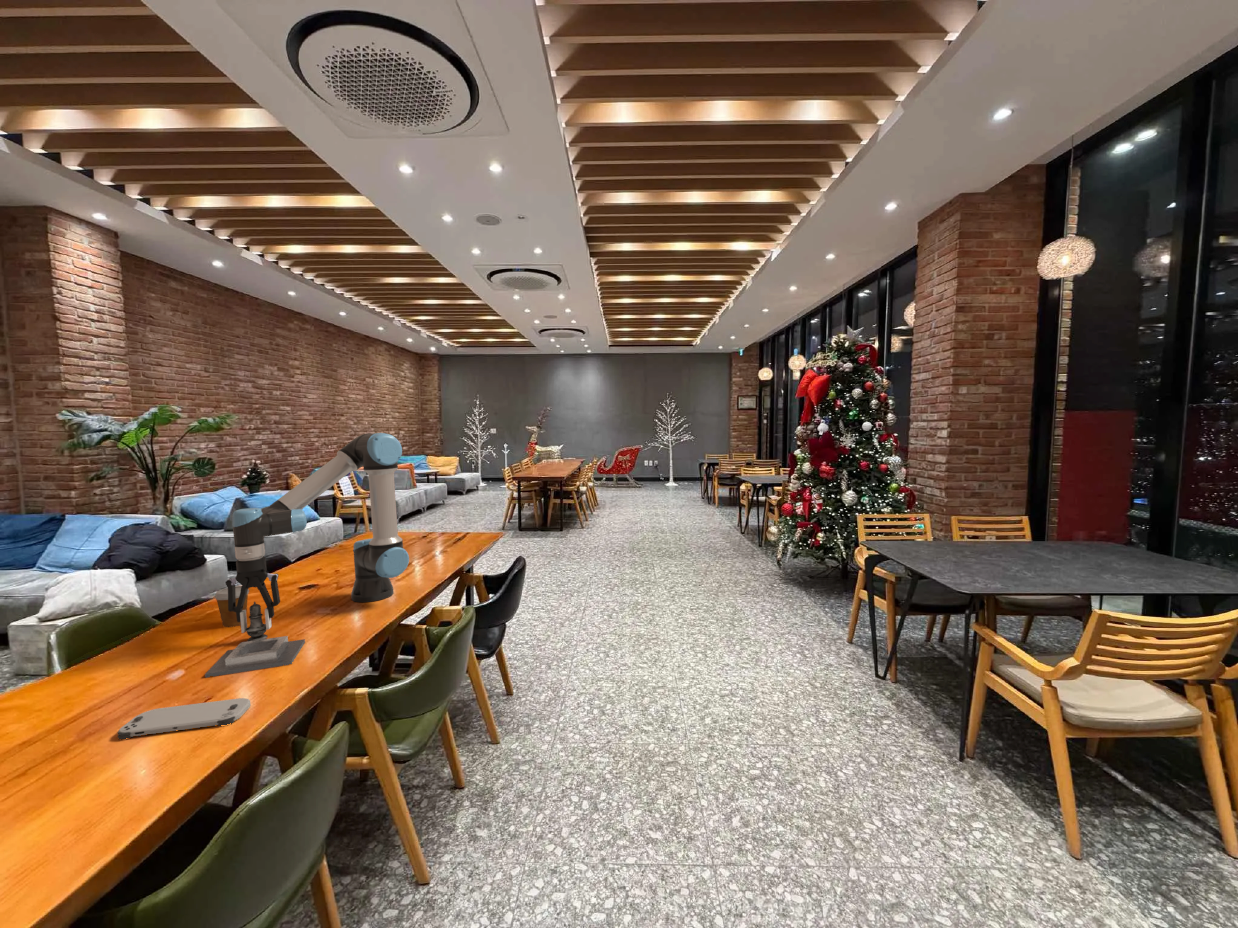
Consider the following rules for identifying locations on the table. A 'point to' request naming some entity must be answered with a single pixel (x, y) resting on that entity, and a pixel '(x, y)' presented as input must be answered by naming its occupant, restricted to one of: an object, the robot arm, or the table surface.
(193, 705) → the handheld gaming console
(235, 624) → the disposable coffee cup
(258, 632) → the dark grey chess piece
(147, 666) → the table surface
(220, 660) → the collar plate
